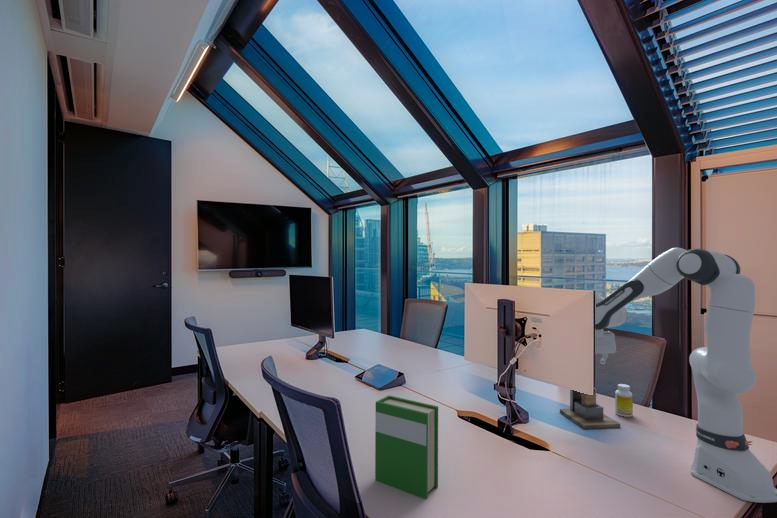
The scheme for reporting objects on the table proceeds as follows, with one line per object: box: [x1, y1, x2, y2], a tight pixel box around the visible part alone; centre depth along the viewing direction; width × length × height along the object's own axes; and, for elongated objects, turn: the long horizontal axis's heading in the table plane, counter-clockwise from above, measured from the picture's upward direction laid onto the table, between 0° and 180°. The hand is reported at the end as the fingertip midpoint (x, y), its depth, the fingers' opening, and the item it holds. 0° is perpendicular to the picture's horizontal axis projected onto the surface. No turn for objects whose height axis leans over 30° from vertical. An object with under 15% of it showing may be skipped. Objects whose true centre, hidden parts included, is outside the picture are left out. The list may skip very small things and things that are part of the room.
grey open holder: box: [569, 389, 604, 420], centre depth 173 cm, size 12×8×14 cm
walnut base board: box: [559, 408, 621, 430], centre depth 172 cm, size 18×16×2 cm
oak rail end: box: [582, 388, 597, 407], centre depth 172 cm, size 4×4×12 cm
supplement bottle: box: [614, 383, 634, 418], centre depth 178 cm, size 7×7×13 cm
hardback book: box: [374, 395, 439, 500], centre depth 121 cm, size 18×7×24 cm, turn 56°
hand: (592, 364), depth 171 cm, fingers open, 8 cm apart
